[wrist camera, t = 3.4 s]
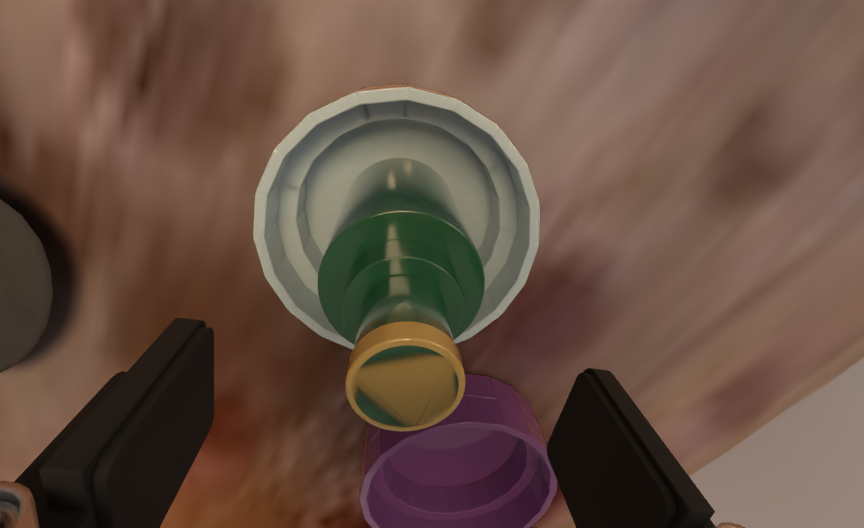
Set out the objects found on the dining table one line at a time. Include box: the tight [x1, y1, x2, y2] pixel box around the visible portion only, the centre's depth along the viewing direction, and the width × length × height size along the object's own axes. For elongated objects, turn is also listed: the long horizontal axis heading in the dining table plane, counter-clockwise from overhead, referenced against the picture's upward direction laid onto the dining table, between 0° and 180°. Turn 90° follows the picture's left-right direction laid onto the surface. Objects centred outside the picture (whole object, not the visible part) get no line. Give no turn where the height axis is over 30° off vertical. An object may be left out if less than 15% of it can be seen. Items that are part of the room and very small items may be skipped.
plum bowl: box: [359, 373, 557, 528], centre depth 29 cm, size 13×13×5 cm
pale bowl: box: [253, 84, 540, 350], centre depth 21 cm, size 13×13×5 cm
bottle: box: [317, 158, 485, 432], centre depth 16 cm, size 6×6×14 cm
